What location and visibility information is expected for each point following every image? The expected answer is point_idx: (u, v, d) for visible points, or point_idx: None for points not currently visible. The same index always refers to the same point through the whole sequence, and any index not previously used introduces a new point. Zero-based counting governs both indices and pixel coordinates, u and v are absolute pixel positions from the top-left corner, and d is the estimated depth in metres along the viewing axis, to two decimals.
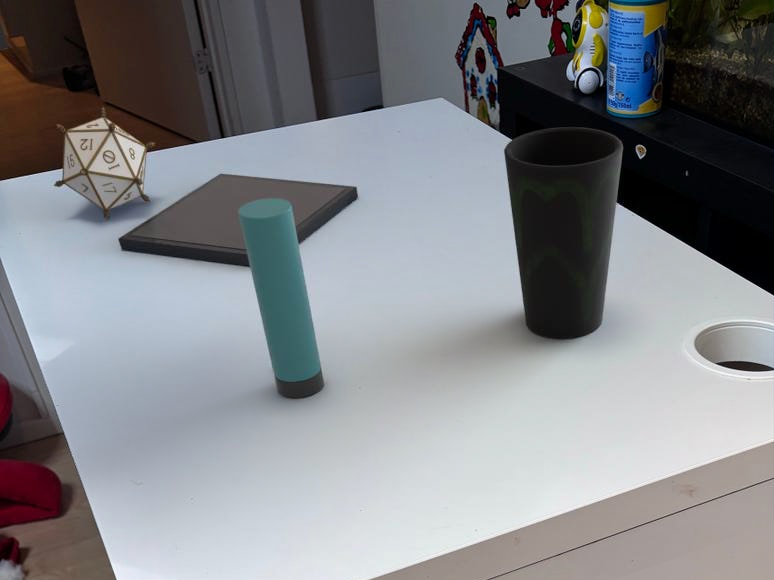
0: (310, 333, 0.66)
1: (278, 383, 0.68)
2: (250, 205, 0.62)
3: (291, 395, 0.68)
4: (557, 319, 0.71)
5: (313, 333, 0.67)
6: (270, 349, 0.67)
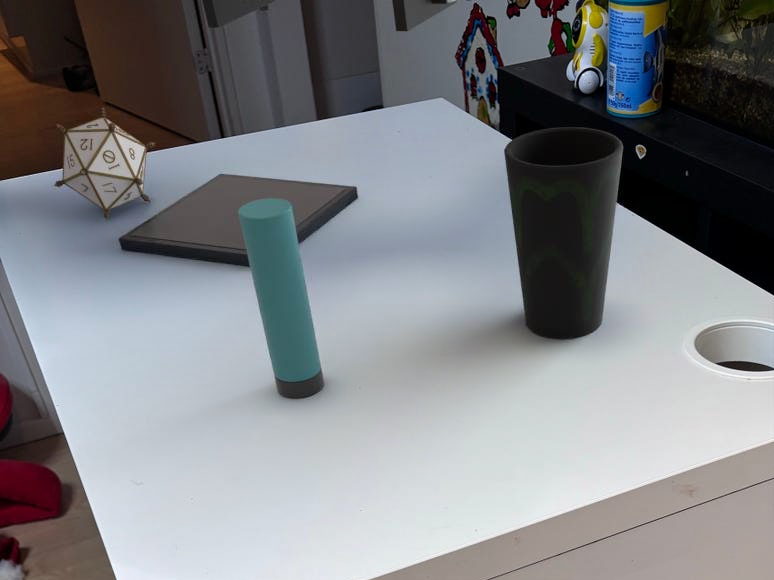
0: (310, 333, 0.66)
1: (278, 383, 0.68)
2: (250, 205, 0.62)
3: (291, 395, 0.68)
4: (557, 319, 0.71)
5: (313, 333, 0.67)
6: (270, 349, 0.67)
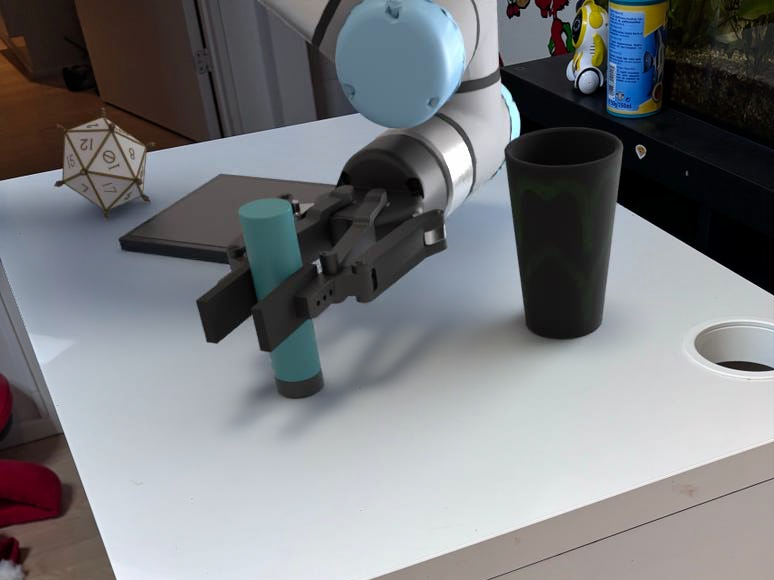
0: (310, 333, 0.66)
1: (278, 383, 0.68)
2: (250, 205, 0.62)
3: (291, 395, 0.68)
4: (557, 319, 0.71)
5: (313, 333, 0.67)
6: None
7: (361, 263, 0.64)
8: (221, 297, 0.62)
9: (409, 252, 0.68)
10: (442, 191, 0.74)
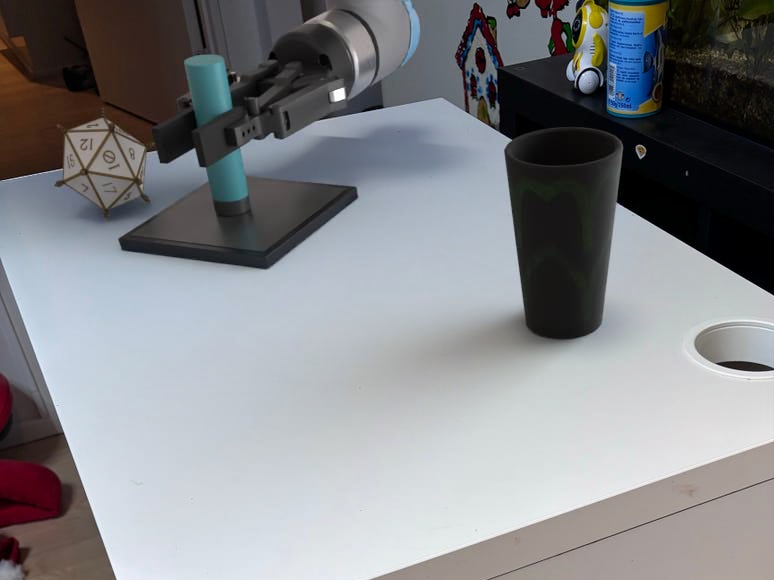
0: (239, 163, 0.88)
1: (215, 203, 0.90)
2: (193, 58, 0.83)
3: (225, 213, 0.90)
4: (557, 319, 0.71)
5: (241, 164, 0.88)
6: (208, 175, 0.88)
7: (276, 106, 0.85)
8: (170, 127, 0.83)
9: (316, 104, 0.89)
10: (348, 68, 0.96)
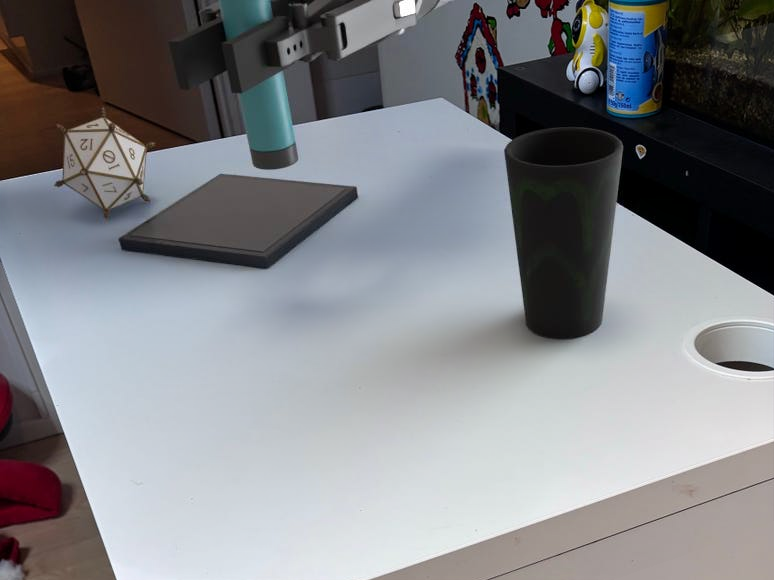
0: (283, 99, 0.68)
1: (253, 154, 0.70)
2: None
3: (266, 166, 0.70)
4: (557, 319, 0.71)
5: (286, 100, 0.68)
6: (245, 116, 0.68)
7: (330, 15, 0.65)
8: (193, 42, 0.63)
9: (379, 18, 0.69)
10: None
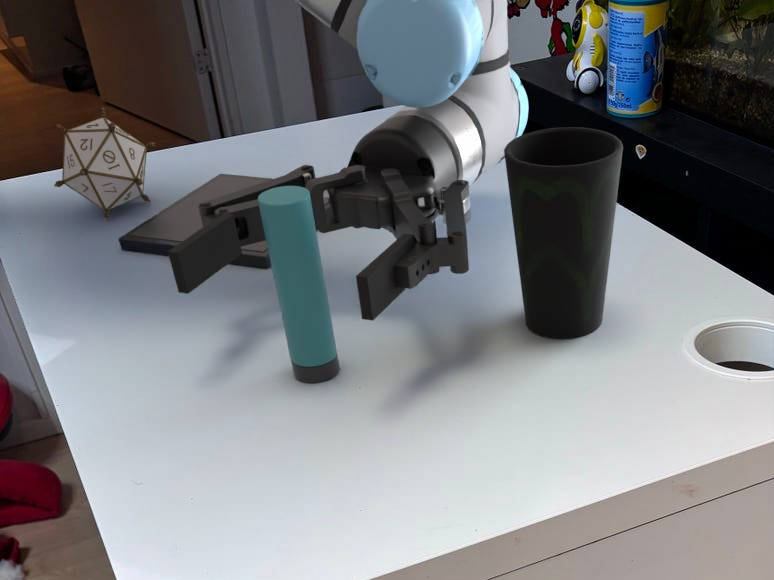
0: (326, 319, 0.67)
1: (295, 368, 0.69)
2: (269, 192, 0.63)
3: (308, 380, 0.70)
4: (557, 319, 0.71)
5: (329, 319, 0.68)
6: (287, 334, 0.68)
7: (460, 233, 0.64)
8: (192, 249, 0.66)
9: None
10: (452, 172, 0.75)
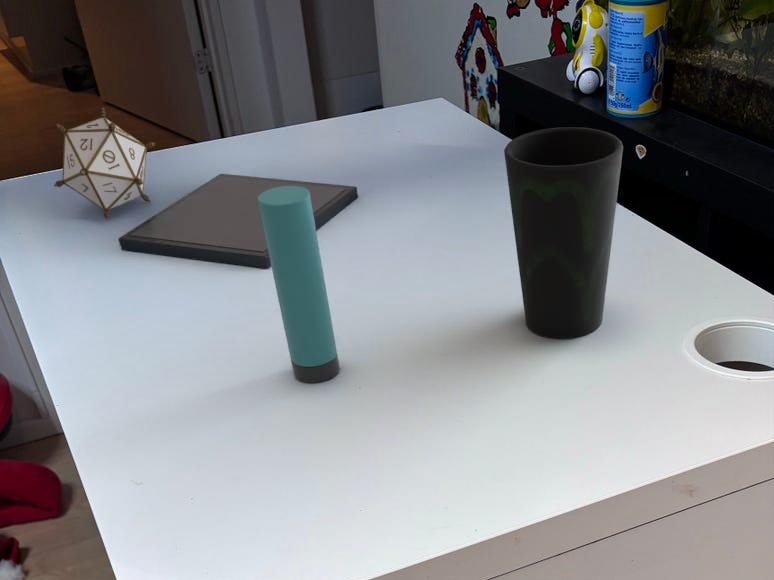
0: (326, 319, 0.67)
1: (295, 368, 0.69)
2: (269, 192, 0.63)
3: (308, 380, 0.70)
4: (557, 319, 0.71)
5: (329, 319, 0.68)
6: (287, 334, 0.68)
7: None
8: None
9: None
10: None
